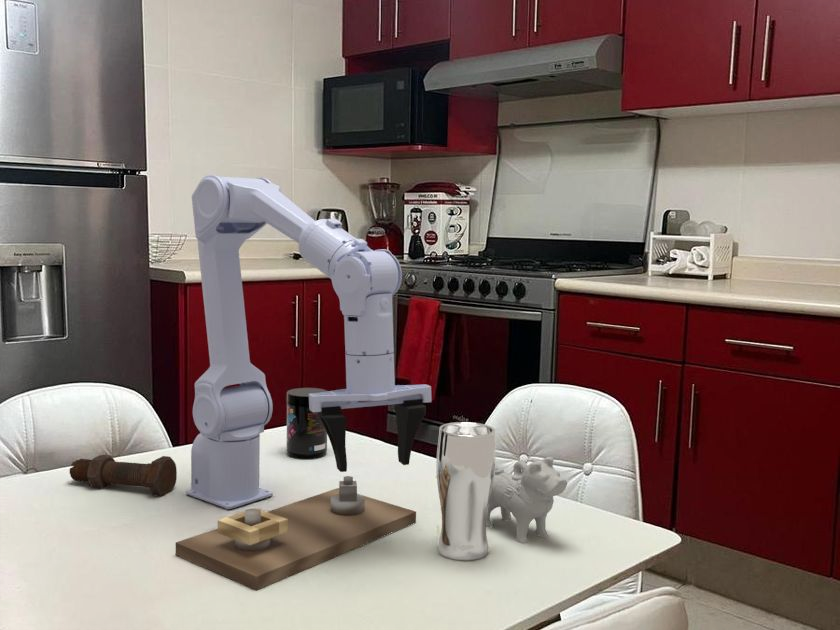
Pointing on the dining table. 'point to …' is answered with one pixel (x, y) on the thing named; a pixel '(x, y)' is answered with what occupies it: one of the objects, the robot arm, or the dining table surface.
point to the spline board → (298, 536)
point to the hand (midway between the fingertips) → (373, 466)
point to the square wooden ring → (252, 527)
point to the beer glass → (465, 488)
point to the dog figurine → (526, 495)
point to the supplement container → (304, 426)
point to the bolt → (127, 473)
